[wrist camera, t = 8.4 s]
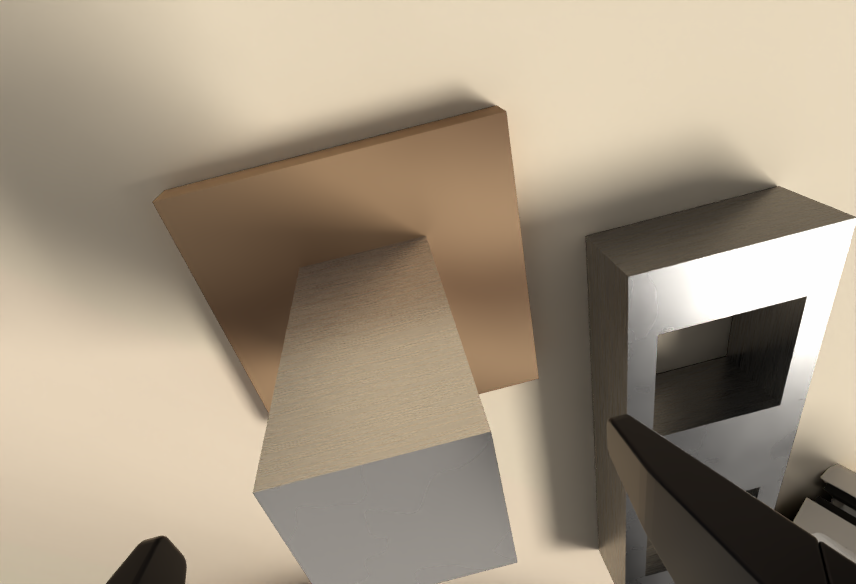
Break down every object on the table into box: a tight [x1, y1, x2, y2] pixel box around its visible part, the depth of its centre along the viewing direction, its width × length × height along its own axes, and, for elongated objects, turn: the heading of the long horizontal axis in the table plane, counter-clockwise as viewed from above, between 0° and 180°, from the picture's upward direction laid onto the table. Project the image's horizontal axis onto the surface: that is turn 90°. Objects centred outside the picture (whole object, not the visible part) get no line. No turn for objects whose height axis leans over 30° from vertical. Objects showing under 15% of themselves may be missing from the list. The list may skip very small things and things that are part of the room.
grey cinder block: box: [586, 186, 856, 584], centre depth 20 cm, size 20×7×3 cm, turn 12°
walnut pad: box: [153, 106, 539, 413], centre depth 16 cm, size 10×10×1 cm
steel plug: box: [253, 236, 517, 584], centre depth 12 cm, size 4×4×8 cm
